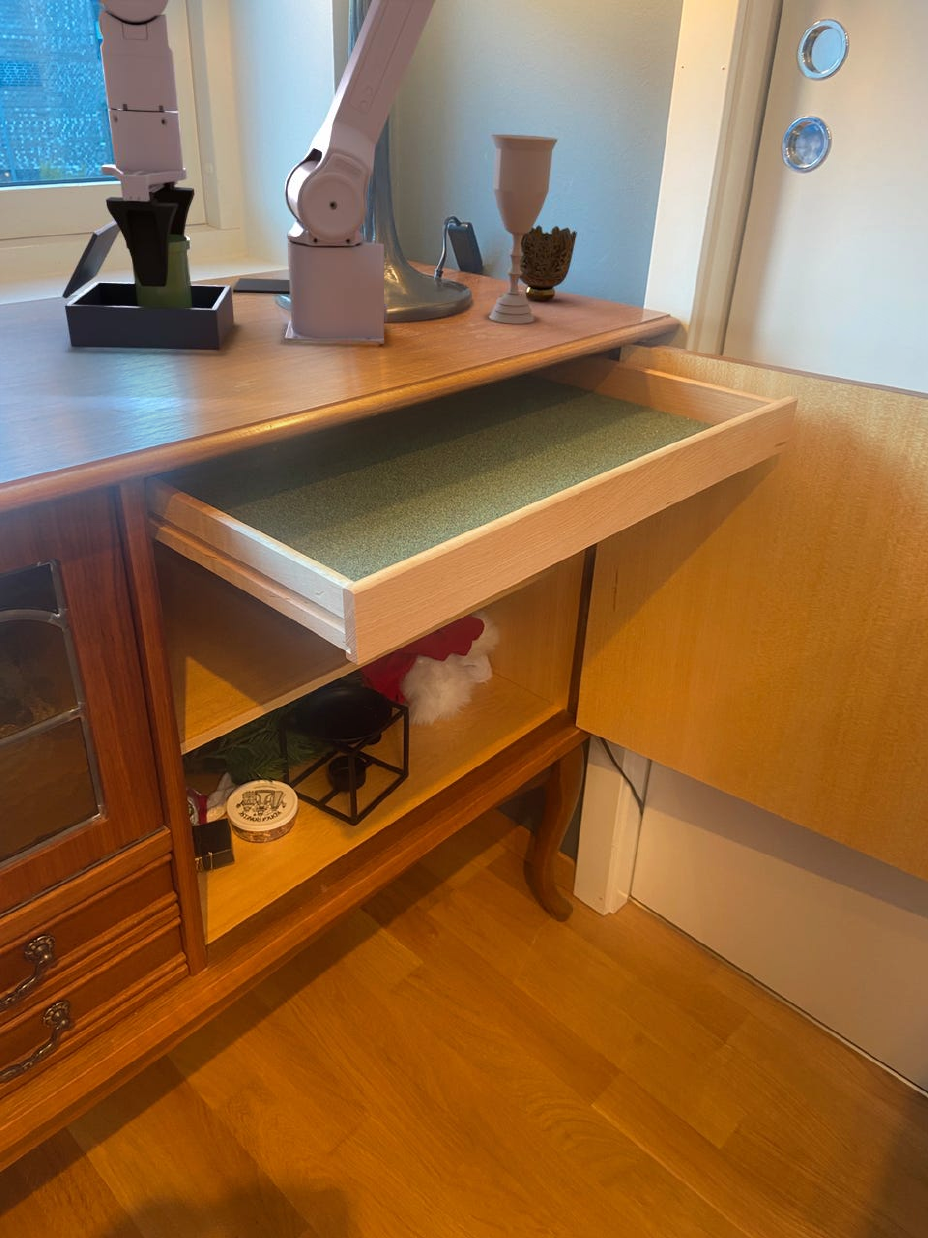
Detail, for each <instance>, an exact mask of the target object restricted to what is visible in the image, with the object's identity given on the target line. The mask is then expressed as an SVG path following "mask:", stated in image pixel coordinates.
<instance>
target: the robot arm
mask: <svg viewBox="0 0 928 1238" xmlns="http://www.w3.org/2000/svg"><path fill="white" fill-rule="evenodd" d="M97 2H98V4H99V5H100V7H101V8H102V9H98V10H99V15H98V20H97V23H98V29H99V33H100V36H101V37H102V42H101V44H100V47H99V49H100V55H101V63H102V71H103V79H104V87H105V95H106V104H107V105H106V106H107V111H108V119H109V120H108V121H109V127H110V134H111V142H112V151H113V158H114V164H104V165H101V166H100V168H101V175H103V176H113V177H114V178H116V179H117V180H119V181H120V189H121V196H120V197H119V196H110V197H108V198H106V199H105V203H106V207H107V210H108V212H109V214H110V215H111V216H112V218H113V221H114V220H115V221H116V223H117V225H118V226H119V228H120V232H121V234H122V237H123V239H124V241H125V244H126V243H127V246H128V249H127V250H128V253H129V255H130V259H131V258H132V260H131V262H132V261H133V264H134V267H135V270H136V273H137V276H138V279H139V281H140V284H141V286H154V287H165V286H166V282H167V276H168V251H169V238H170V234H175V235H182V236H185V231H186V225H187V224H186V223H187V220H188V216H189V215H188V214H189V212H190V208H191V205H192V203H193V200H194V197H195V188H192V187H184V186H176V185H178V183H179V181H185V180H186V179H187V177H188V176H187V169H186V168H185V167H184V159H183V157H184V156H183V148H182V147H183V146H182V139H181V138H182V137H181V127H180V126H181V125H180V124H181V123H180V115H179V114H180V113H179V106H178V93H177V83H176V73H175V61H174V52H173V49H172V48H171V46H170V43H169V35H168V34H169V33H168V32H169V31H168V23H167V14H165V13H164V12H165V9H166V7H167V5H168V3H169V0H97ZM435 4H436V0H371V3H370V6H369V7H368V11H367V13H366V16H365V18H364V20H363V23H362V26H361V28H360V31H359V33H358V36H357V39H356V41H355V43H354V46H353V49H352V51H351V54H350V57H349V59H348V62H347V63H346V66H345V69H344V72H343V75H342V77H341V80H340V82H339V84H338V87H337V90H336V91H335V94H334V97H333V100H332V102H331V105H330V108H329V110H328V112H327V116H326V118H325V120H324V122H323V124H322V125H321V127H320V128H319V130H318V132H317V133H316V135H315V136H314V138H313V140H312V142H311V145H310V147H309V149H308V152H307V153H306V155H305V156H304V157H303V159H302V160H300V161H299V162H298V163H297V164H296V165H294V167H293V168H291V170H290V172H289V173H288V175H287V178H286V180H285V185H284V198H285V199H284V200H285V204H286V205H287V208H288V211H289V212H290V213H291V215H292V216H293V217H294V219H295V222H294V224H293V226H292V228H291V229H290V230H289V231H288V232H287V233H286V237H287V238H286V239H287V241H286V242H287V258H288V280H289V285H290V294H289V303H290V304H289V306H290V319H289V322H288V325H287V329H286V332H285V335H284V339H285V340H288V341H319V342H320V341H322V342H323V341H324V342H325V341H326V342H358V343H359V342H364V343H378V345H383V344H385V324H387V323H388V304H387V303H385V245H384V244H383V243H379V242H367V241H364V239H365V237H364V233H362V232H361V231H359V230H360V229H361V227H362V226H363V224H364V222H365V219H366V216H367V211H368V210H367V209H368V202H367V199H368V197H367V193H368V185H369V182H370V179H371V177H372V175H373V172H374V166H375V156H376V148H377V147H376V146H377V144H378V141H379V139H380V136H381V133H382V132H383V129H384V127H385V124H386V122H387V120H388V117H389V114H390V112H391V109H392V107H393V104H394V102H395V100H396V97H397V95H398V92H399V90H400V88H401V85H402V83H403V81H404V78H405V76H406V73H407V71H408V68H409V66H410V63H411V61H412V59H413V56H414V54H415V52H416V49H417V46H418V44H419V42H420V39H421V37H422V34H423V32H424V30H425V28H426V25H427V22H428V20H429V17H430V15H431V13H432V10H433V8H434V6H435Z"/></svg>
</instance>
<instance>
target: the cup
mask: <svg viewBox="0 0 928 1238" xmlns="http://www.w3.org/2000/svg"><path fill="white" fill-rule="evenodd" d="M577 237H578V231H576V230H573V231H572V232H571V230H570V228H569V227H565V228H562V229H560V228H559V226H557V225H555V226H554V227H552V229H551V231H550V232H548V231H546V232H543V227H542V226H541V225H537V226H536V227H534V226H533V227H532V229H531V231H530V232H529V233H527V234H524V235H523V237H522V240H521V250H522V253H523V256H522V257H521V260H520V263H519V265H520V270H521V271H522V273H523V274H522V275H521V276H520V277H519V281H521V282H522V283H523V284H524V285H526V287H525V290H524V294H525V297H526V298H527V299H528V300H531V301H535V302H549V301H551V300H553V299H554V297H555V295H556V290H555V287H557V286H559V285H561V284H562V283H563V282H564V281H565V279H566V277H567V276H568V274H569V270H570V267H571V262H572V259H573V253H574V249H575V245H576V239H577Z"/></svg>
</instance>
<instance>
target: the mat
mask: <svg viewBox="0 0 928 1238" xmlns="http://www.w3.org/2000/svg"><path fill="white" fill-rule="evenodd" d="M232 294H261V295H290V285H289V279H278V278H277V279H275V278H249V277H247V278H245V277H243V278H242V277H239V279H238V281H236V284H235V285H234V287H233V288H232Z"/></svg>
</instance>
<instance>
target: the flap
mask: <svg viewBox="0 0 928 1238" xmlns="http://www.w3.org/2000/svg"><path fill="white" fill-rule="evenodd" d="M120 232H121V230H120V228H119V226H118V225H117V223H116V221H115V220H114V219H113V221H111V222H109V223H108V224H106V225H104V226H103V227H101V228H99V229H98V230H95V231H94V232H93V233H92V235H91V237H90V239H89V241H88V243H87V244H86V247H85V249H84V250H83V253H82V255H81V257H80V259H79V260H78V263H77V265H76V267H75V269H74V271H73V273H72V275H71V276H70V279H69V281H68V283H67V285H66V287H65V289H64V291H63V293H62V295H61V297H62V298H64V299H68V298H70V297H71V296H73V294H74V293H76V292H77V291H79V290H80V289H82V287H83V286H86V284H88V283H89V282H90V281H92V280H93V279H94V278H96V277H97V276H98V274H99V272H100V271H101V268H102V266H103V265H104V262H105V261H106V258H107V256H108V254H109V253H110V252H111V251H110V250H111V249H112V246H113V245H114V243H115V241H116V239H117V237H118V235H119V233H120Z"/></svg>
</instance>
